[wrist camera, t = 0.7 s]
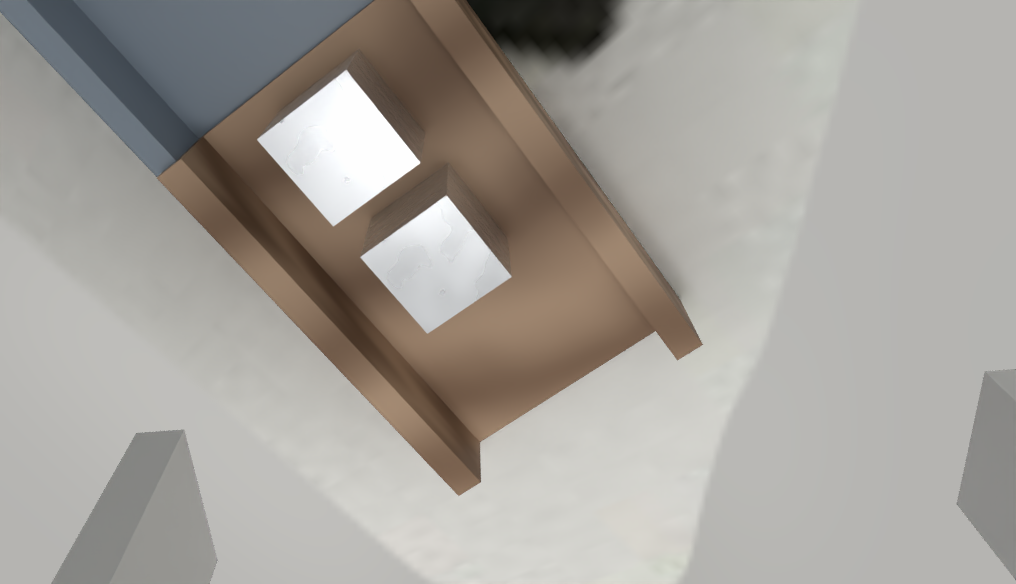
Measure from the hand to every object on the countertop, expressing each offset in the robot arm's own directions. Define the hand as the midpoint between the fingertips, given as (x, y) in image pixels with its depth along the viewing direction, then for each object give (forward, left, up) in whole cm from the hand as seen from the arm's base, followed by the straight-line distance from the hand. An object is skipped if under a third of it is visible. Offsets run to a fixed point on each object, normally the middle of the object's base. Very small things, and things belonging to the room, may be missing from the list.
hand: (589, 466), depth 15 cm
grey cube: (-4, -5, -22) cm, 23 cm away
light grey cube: (+2, -5, -22) cm, 23 cm away
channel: (+2, -5, -23) cm, 24 cm away
